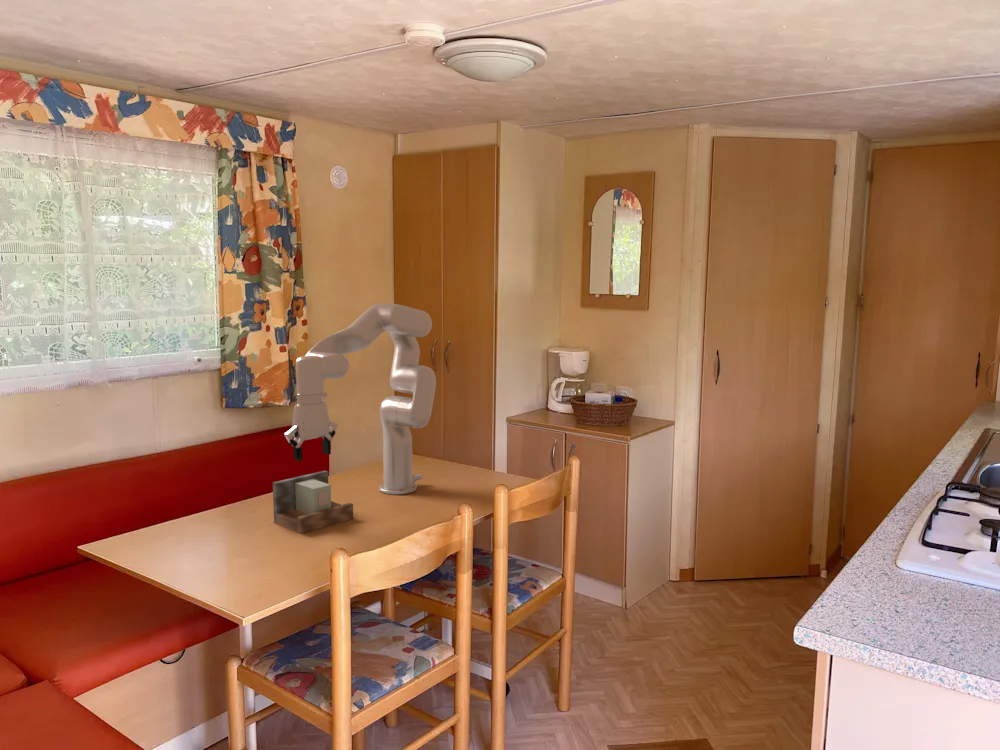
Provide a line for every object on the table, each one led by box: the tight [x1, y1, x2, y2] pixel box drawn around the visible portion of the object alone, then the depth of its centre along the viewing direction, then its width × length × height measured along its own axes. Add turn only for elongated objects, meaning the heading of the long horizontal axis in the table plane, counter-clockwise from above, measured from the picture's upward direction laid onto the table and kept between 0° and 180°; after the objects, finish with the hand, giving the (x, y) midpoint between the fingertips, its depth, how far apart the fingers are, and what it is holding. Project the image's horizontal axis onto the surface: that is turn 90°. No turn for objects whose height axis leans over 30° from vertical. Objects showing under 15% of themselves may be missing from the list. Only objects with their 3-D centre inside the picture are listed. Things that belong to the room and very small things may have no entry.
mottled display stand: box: [272, 470, 354, 535], centre depth 226 cm, size 18×14×12 cm
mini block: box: [295, 479, 332, 514], centre depth 226 cm, size 6×9×8 cm, turn 48°
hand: (312, 457), depth 225 cm, fingers open, 9 cm apart
